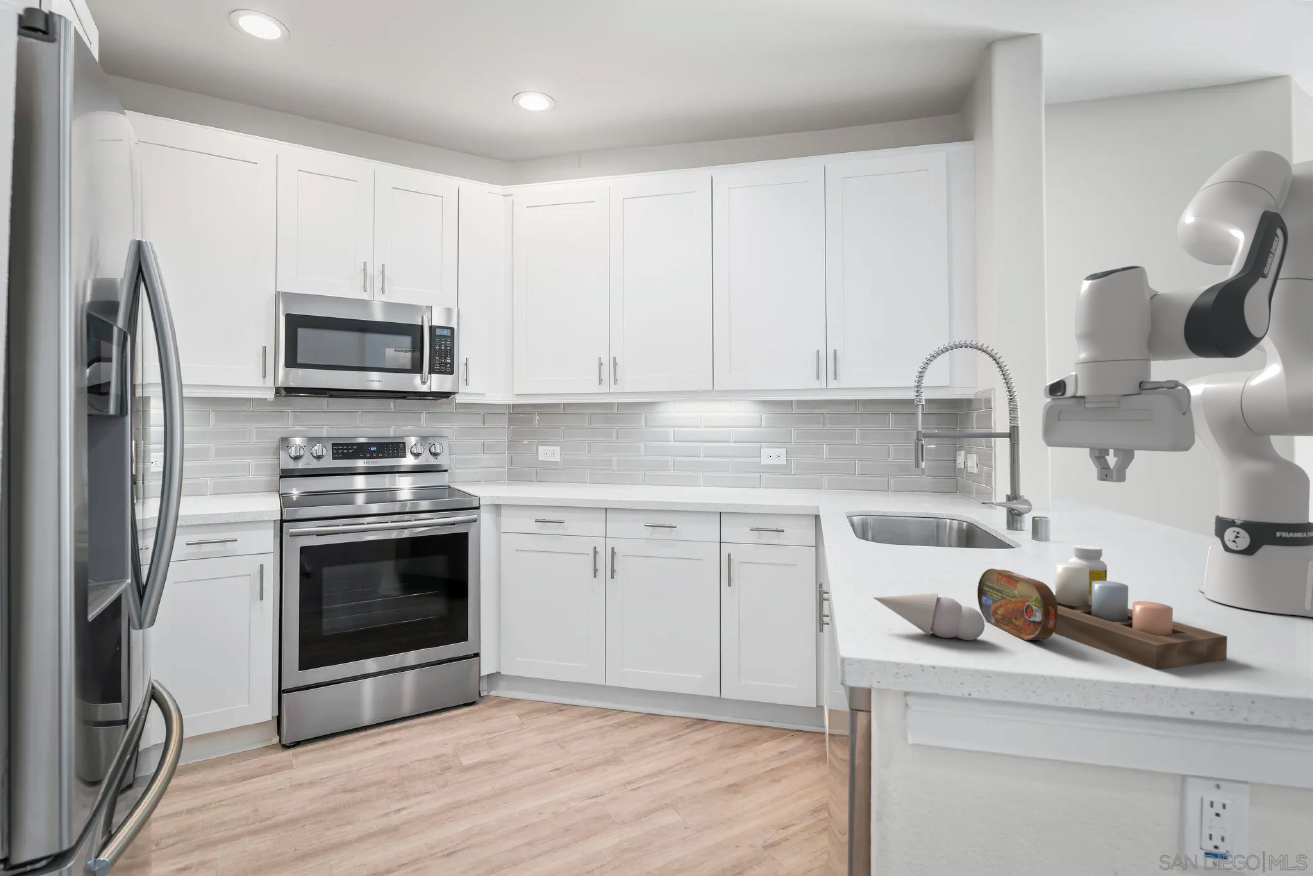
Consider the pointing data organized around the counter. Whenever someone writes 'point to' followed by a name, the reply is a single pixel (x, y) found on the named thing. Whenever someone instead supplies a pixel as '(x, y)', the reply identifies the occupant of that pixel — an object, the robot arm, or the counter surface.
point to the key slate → (1110, 601)
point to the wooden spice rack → (1141, 639)
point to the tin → (1017, 604)
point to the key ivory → (1072, 584)
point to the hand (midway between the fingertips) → (1111, 481)
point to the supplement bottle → (1090, 562)
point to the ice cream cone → (937, 615)
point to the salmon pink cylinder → (1152, 618)
